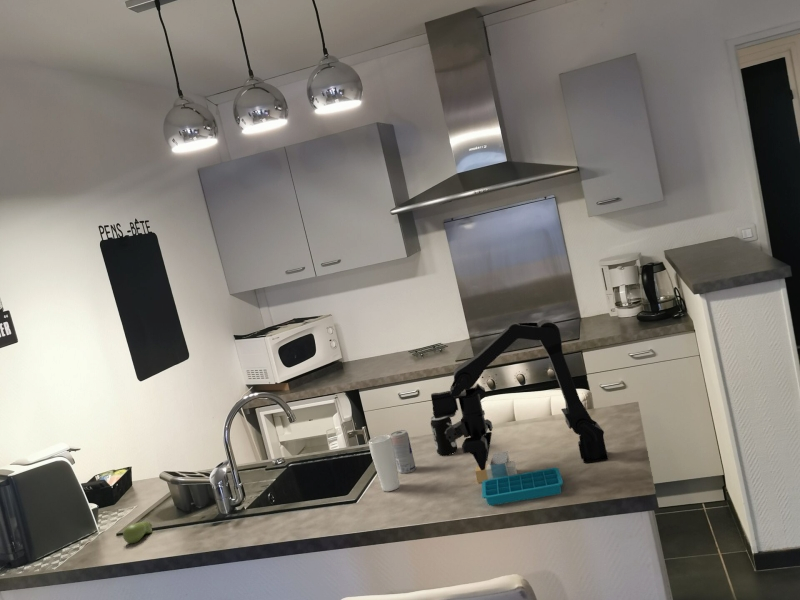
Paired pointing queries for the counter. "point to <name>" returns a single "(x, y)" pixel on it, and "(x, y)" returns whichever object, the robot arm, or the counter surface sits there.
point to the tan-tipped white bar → (487, 473)
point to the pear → (136, 531)
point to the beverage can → (442, 435)
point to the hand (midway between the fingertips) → (484, 465)
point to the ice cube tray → (522, 486)
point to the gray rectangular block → (499, 464)
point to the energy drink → (403, 451)
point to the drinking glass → (385, 461)
